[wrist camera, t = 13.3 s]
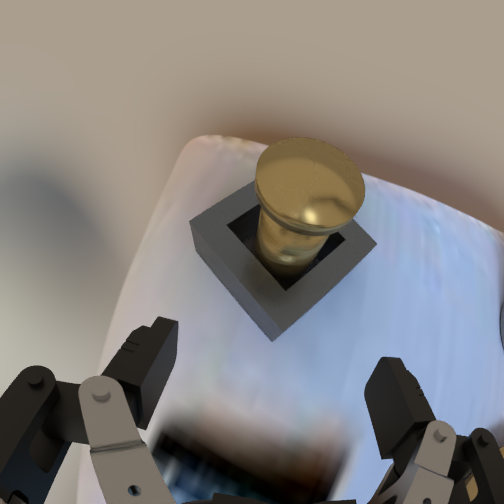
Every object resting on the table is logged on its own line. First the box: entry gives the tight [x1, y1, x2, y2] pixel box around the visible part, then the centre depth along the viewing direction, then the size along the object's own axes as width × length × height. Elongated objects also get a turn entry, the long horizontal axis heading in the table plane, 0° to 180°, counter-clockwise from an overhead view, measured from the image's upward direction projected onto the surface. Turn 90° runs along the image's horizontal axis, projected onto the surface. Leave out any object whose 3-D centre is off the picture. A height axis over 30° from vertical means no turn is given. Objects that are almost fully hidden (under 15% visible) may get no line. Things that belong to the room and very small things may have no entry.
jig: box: [189, 181, 377, 342], centre depth 20 cm, size 9×9×4 cm
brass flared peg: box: [253, 137, 365, 291], centre depth 17 cm, size 5×5×11 cm
